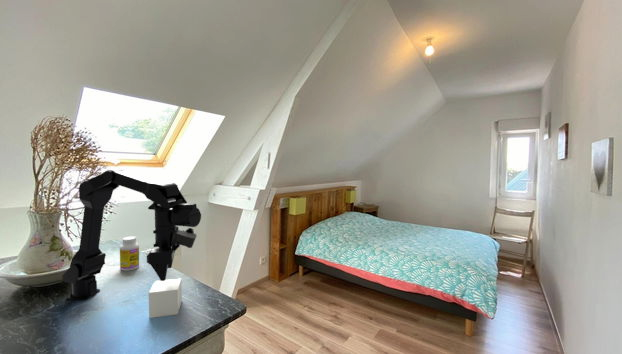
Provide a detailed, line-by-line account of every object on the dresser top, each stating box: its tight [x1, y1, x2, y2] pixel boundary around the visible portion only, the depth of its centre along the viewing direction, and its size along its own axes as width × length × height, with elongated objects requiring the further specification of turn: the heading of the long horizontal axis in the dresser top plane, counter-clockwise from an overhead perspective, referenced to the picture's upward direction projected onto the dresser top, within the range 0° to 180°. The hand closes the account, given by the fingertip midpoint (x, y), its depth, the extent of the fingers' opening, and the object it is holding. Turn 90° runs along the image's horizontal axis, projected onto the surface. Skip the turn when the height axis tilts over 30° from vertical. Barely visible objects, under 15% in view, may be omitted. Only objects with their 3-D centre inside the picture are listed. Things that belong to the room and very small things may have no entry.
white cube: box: [148, 277, 183, 319], centre depth 84 cm, size 8×8×8 cm
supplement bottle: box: [119, 235, 140, 272], centre depth 113 cm, size 7×7×13 cm
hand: (166, 273), depth 84 cm, fingers open, 9 cm apart
